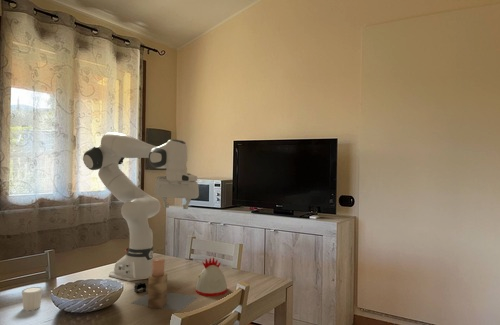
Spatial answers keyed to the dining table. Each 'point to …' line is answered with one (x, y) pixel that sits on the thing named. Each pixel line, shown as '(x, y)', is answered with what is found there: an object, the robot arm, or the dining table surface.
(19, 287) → the dining table surface
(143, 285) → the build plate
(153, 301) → the block lower
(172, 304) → the mat
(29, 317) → the dining table surface
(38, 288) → the white cylinder
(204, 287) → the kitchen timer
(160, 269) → the drum
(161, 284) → the block upper
